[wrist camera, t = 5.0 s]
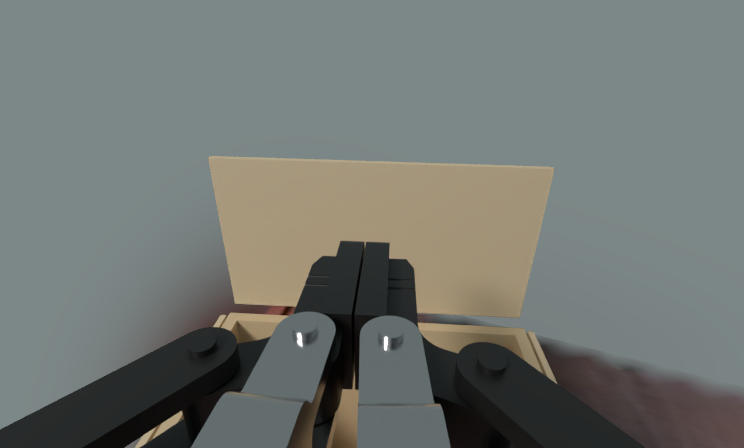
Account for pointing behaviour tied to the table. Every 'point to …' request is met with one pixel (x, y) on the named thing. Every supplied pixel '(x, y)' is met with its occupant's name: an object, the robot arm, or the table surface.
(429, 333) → the kraft box
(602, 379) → the table surface
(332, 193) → the near flap
